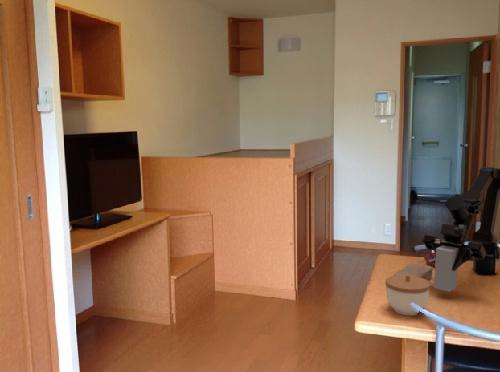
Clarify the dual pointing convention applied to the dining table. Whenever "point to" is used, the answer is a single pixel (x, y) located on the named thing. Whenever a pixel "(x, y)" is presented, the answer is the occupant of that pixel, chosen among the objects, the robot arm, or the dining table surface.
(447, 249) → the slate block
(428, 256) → the geometric puzzle
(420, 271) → the brick
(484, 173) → the robot arm
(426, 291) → the lidded bowl
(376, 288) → the dining table surface
